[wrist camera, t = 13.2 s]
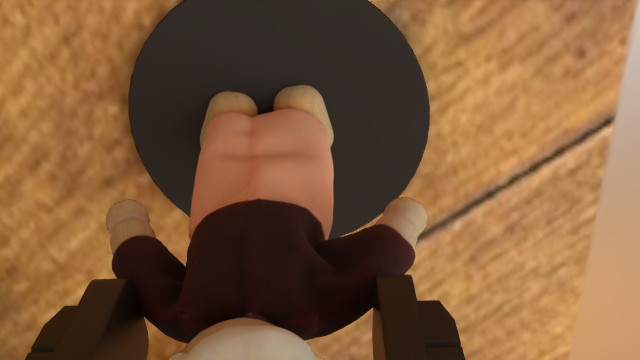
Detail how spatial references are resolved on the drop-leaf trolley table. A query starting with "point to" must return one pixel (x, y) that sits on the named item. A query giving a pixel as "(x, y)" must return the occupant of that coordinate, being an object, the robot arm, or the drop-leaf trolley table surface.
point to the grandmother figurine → (261, 239)
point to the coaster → (276, 74)
